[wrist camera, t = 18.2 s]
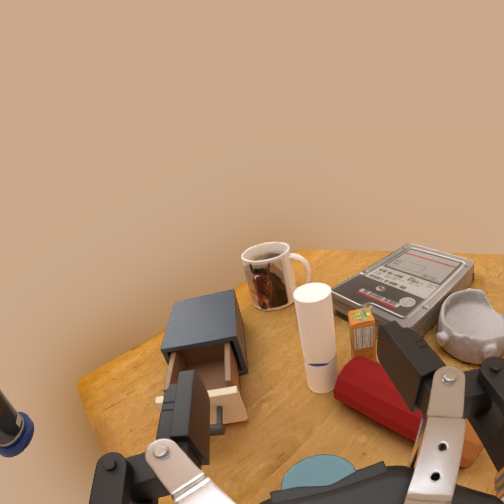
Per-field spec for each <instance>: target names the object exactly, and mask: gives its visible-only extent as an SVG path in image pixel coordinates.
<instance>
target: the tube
mask: <svg viewBox="0 0 504 504" xmlns="http://www.w3.org/2000/svg"><path fill="white" fill-rule="evenodd" d="M293 297H294V303H295V308H296V314H297V320H298V326H299V332H300V338H301V345H302V351H303V356H304V364H305V370H306V377H307V383H308V387H309V389H310V390H311V391H313V392H315V393H320V394H322V393H327V392H330V391H332V390H333V389H334V386H335V383H336V380H337V377H338V373H337V355H336V340H335V327H334V316H333V305H332V295H331V288H330V287H329V286H328V285H326V284H324V283H309V284H305V285H302V286H300V287H298V288H297V289H296V290H295V291H294V293H293Z"/></svg>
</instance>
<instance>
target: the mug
mask: <svg viewBox="0 0 504 504" xmlns="http://www.w3.org/2000/svg"><path fill="white" fill-rule="evenodd" d="M241 258H242V262H243V266H244V270H245V274H246V278H247V283H248V287H249V291H250V295H251V299H252V303H253V305H254V306H255V307H256V308H258V309H260V310H265V311H272V310H278V309H282V308H285V307H287V306H289V305H291V304H292V303H293V302H294V297H293V293H294V291H295V290H296V289H297V288H298V287H296V281H295V275H294V269H293V263H292V259H293V260H297V261H299V262H300V263H302V264H303V266H304V267H305V269H306V271H307V281H306V283H305V284H309V283H310V281H311V268H310V265H309V263H308V262H307V260H306V259H305V258H304V257H302V256H301V255H299V254H295V253H291V252H290V247H289V245H288V244H286V243H283V242H267V243H263V244H259V245H256V246H253V247H251V248H249V249H247V250H246V251H244V252H243V253H242V256H241ZM305 284H304V285H305Z"/></svg>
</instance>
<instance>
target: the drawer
mask: <svg viewBox="0 0 504 504" xmlns="http://www.w3.org/2000/svg"><path fill="white" fill-rule="evenodd" d="M193 369H197V370H198V372H199V374H200V376H201V379H202V381H203V383H204V385H205V387H206V389H207V392H208V394H209V398H210V436H215V435H223V434H225V432H226V431H225V426H224V424H227V423H234V422H240V421H246V420H248V414H247V411H246V409H245V406H244V404H243V401H242V399H241V396H240V384H239V370H238V356H237V353H236V350H235V347H234V344H233V341H229V342H224V343H219V344H213V345H208V346H203V347H197V348H191V349H186V350H180V351H174V352H171V357H170V361H169V366H168V370H167V375H166V379H165V384H164V389H163V390H164V392H166V390H167V389H168V387H169V386H170V384H177V381H178V375H179V372H180V371H187V370H193ZM163 398H164V396H159V397H156V400H155V404H156V406H157V407H158V409H159V411H160V412H162V410H161V409H162V404H163Z"/></svg>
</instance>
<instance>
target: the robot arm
mask: <svg viewBox="0 0 504 504" xmlns="http://www.w3.org/2000/svg"><path fill="white" fill-rule="evenodd" d="M377 355H378V359H379V362H380V364H381V365H382V367H383V368H384V370H385V371H386V373H387V375H388V376H389V378H390V379H391V381H392V383H393V384H394V386H395V387H396V389H397V390H398V392H399V394H400V395H401V397H402V399H403V400H404V402H405V403H406V405H407V407H408V408H409V410H410V412H411V413H413V412H415V411H417V410H420V411H421V412H422V416H421V420H420V424H419V429H418V433H417V437H416V440H415V444H414V448H413V451H412V454H411V457H410V460H409V462H408V465H407V467H406V466H387V467H386V466H385V464H384V462H383V461H381V462H379V463H376V464H374V465H371V466H368V467H365V468H363V469H360V470H357V471H355V472H353V473H352V474H350V475H348V476H346V477H345V478H343V479H341V480H339V481H337V482H335V483H334V484H331V485H327V486H302V487H294V488H290V489H284V490H279V491H273V492H270V495H271V498H270V499H268V500H265V501H263V502H261V503H260V504H504V359H502V358H500V357H495V356H493V357H488V358H486V359H485V360H484V361H483V362H482V364H481V367H480V368H479V369H475V370H470V371H465V372H463V371H462V370H461V369H459V368H457V367H455V366H446V365H445V363H444V362H443V361H442V360H441V359H440V358H439V356H438V355H437V354H436V353H435V352H434V351H433V350H432V348H431V347H430V346H428V344H427V343H426V342H425V340H423V338H422V337H421V336H420V335H419V334H418V333H417V332H416V331H414V330H412V329H410V328H408V327H406V328H402V327H401V326H400V325H399V323H398V322H397V321H395V320H393V321H390V322H387V323H384V324H381V325H379V326H378V341H377ZM161 410H162V412H161V414H160V420H159V425H158V431H157V437H156V440H155V441H153V442H152V443H150V444H149V445H148V447H147V448H146V450H145V452H144V453H142V454H138V455H135V456H131V457H128V458H124V457H123V456H122V455H121V454H119V453H116V452H111V453H107V454H105V455H103V456H102V457H101V458H100V459H99V460H98V462H97V465H96V470H95V475H94V479H93V485H92V490H91V495H90V501H89V504H158V498H160V497H164V496H167V495H172V499H173V501H174V502H175V503H176V504H236V503H235V502H234V501H233V500H232V499H231V498H230V497H229V496H227V495H226V494H225V493H224V492H223V491H222V490H221V489H220V488H219V487H218V486H217V485H216V484H215V483H214V482H213V481H212V480H211V479H210V478H209V477H208V476H207V475H205V474H204V473H203V472H202V471H201V465H209V446H210V398H209V394H208V392H207V389H206V387H205V385H204V383H203V381H202V379H201V376H200V374H199V372H198V370H197V369H193V370H187V371H180V372H179V375H178V381H177V384H170V386H169V387H168V389H167V390H166V392H165V393H164V398H163V404H162V409H161ZM466 418H467V419H468V421H469V422H470V424H471V426H472V427H473V429H474V431H475V432H476V434H477V436H478V437H479V439H480V441H481V442H482V444H483V446H484V448H485V449H486V451H487V453H488V455H489V456H490V458H491V460H492V462H493V464H494V465H495V467H496V469H497V471H498V472H497V474H496V477H495V491H496V492H497V493H496V496H493V495H490V494H486V493H483V492H479V491H476V490H473V489H469V488H466V487H463V486H460V485H457V484H456V481H457V476H458V471H459V466H460V461H461V456H462V450H463V443H464V436H465V428H466ZM25 429H26V422H25V420H24V418H23V417H22V416H21V415H20V414H19V413H18V412H17V411H16V410H15V408H14V407H13V406H12V404H11V403H10V402H9V401H8V399H7V398H6V397H5V395H4V394H3V393H2V391H1V390H0V447H1V448H10V447H12V446H14V445H15V444H16V443H18V442H19V440H20V439H21V438H22V436H23V435H24V432H25Z"/></svg>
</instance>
